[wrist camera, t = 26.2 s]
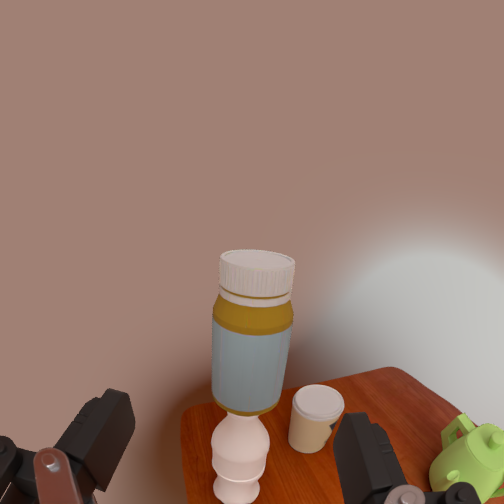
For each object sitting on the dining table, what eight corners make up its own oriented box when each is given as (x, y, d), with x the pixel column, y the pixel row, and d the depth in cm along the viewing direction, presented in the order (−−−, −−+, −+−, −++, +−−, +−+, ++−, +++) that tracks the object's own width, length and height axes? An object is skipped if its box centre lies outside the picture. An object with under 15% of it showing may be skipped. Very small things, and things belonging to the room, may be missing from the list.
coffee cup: (330, 456, 41) (348, 417, 38) (282, 455, 42) (293, 415, 39) (327, 424, 50) (341, 384, 47) (284, 422, 51) (293, 381, 48)
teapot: (493, 458, 27) (528, 410, 24) (484, 527, 12) (536, 482, 8) (428, 446, 38) (459, 397, 35) (405, 517, 23) (449, 475, 19)
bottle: (291, 395, 27) (315, 260, 24) (249, 430, 22) (266, 277, 18) (242, 369, 31) (252, 245, 28) (198, 395, 26) (197, 254, 22)
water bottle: (260, 481, 35) (280, 380, 30) (254, 513, 28) (276, 424, 23) (218, 475, 36) (218, 372, 30) (209, 506, 29) (201, 412, 23)
